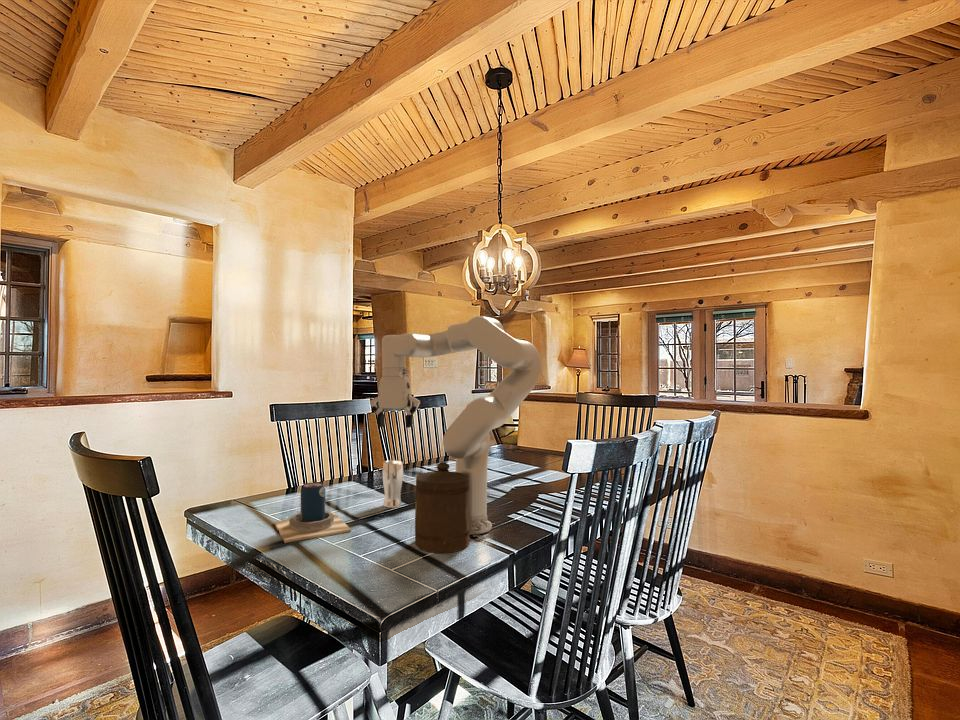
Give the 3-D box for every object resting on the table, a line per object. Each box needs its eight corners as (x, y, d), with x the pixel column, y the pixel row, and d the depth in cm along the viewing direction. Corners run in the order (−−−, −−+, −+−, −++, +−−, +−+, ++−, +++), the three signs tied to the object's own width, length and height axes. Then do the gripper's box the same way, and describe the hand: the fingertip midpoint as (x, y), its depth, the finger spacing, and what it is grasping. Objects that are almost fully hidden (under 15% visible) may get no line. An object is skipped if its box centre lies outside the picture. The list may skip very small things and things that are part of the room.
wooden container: (441, 530, 145) (442, 455, 145) (480, 542, 136) (481, 462, 136) (403, 544, 133) (404, 463, 134) (443, 558, 124) (444, 470, 124)
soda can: (330, 523, 147) (330, 483, 147) (311, 530, 141) (311, 488, 141) (314, 520, 150) (314, 480, 151) (295, 526, 145) (295, 485, 145)
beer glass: (391, 501, 174) (391, 459, 174) (406, 504, 170) (407, 461, 171) (377, 506, 168) (378, 462, 168) (393, 509, 165) (394, 464, 165)
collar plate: (350, 531, 143) (350, 520, 143) (284, 542, 133) (284, 530, 133) (334, 515, 158) (334, 504, 158) (274, 523, 149) (274, 513, 149)
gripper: (423, 373, 159) (424, 426, 159) (375, 373, 164) (376, 425, 164) (414, 373, 152) (415, 428, 152) (364, 374, 157) (365, 428, 157)
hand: (395, 427), depth 158 cm, fingers open, 9 cm apart
